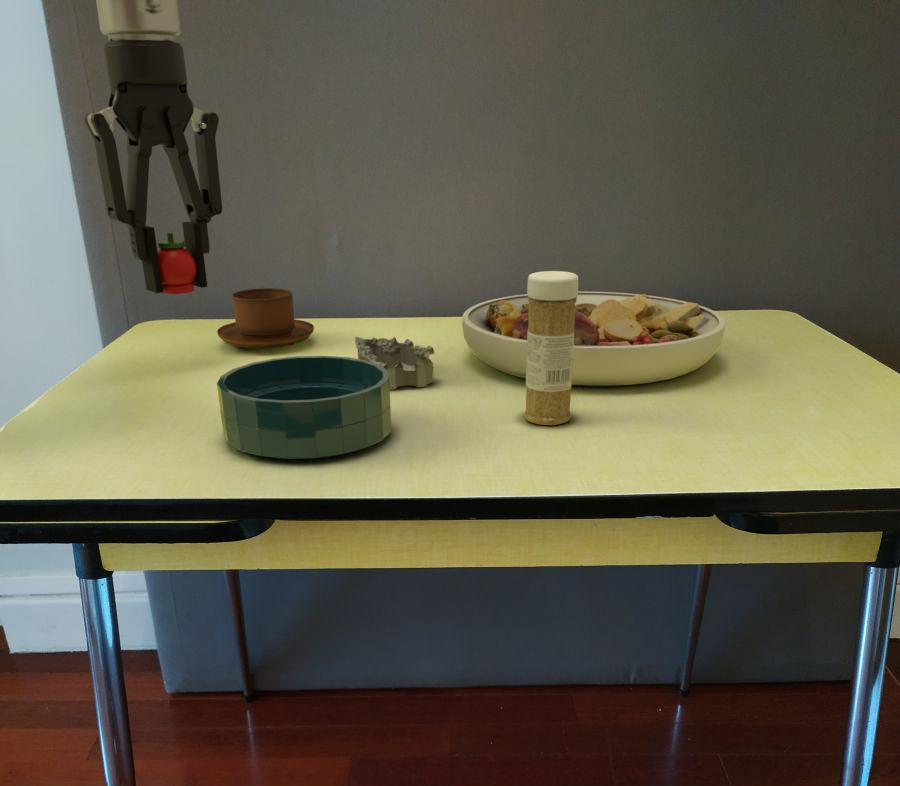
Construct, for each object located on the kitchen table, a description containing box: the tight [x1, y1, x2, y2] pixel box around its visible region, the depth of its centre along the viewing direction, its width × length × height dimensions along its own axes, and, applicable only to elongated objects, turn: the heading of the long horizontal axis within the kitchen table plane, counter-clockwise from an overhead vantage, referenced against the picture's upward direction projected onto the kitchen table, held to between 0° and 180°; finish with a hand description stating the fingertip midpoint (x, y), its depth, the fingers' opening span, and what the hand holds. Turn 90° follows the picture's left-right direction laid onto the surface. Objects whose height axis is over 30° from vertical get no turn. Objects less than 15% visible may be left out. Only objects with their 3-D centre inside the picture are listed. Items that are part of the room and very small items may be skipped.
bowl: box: [461, 291, 726, 387], centre depth 106 cm, size 30×30×8 cm
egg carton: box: [354, 336, 435, 391], centre depth 101 cm, size 11×8×4 cm
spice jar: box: [523, 270, 579, 426], centre depth 85 cm, size 5×5×13 cm
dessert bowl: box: [216, 355, 392, 460], centre depth 83 cm, size 15×15×6 cm
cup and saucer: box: [216, 287, 315, 350], centre depth 114 cm, size 12×12×6 cm
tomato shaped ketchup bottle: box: [157, 232, 196, 295], centre depth 99 cm, size 5×5×6 cm
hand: (177, 287), depth 100 cm, fingers closed on tomato shaped ketchup bottle, 4 cm apart
